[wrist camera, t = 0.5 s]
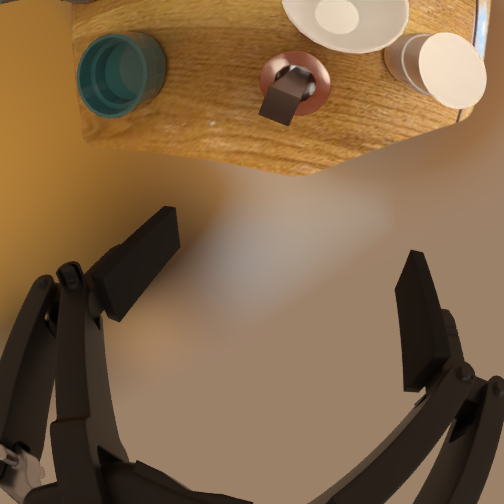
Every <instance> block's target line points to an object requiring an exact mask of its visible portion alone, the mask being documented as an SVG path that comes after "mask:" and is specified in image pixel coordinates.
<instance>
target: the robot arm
mask: <svg viewBox="0 0 504 504" xmlns="http://www.w3.org/2000/svg"><path fill="white" fill-rule="evenodd" d="M12 1H17V0H0V4H3V3H8V2H12ZM62 1H63V0H62ZM65 1H68V2H71V3H89V2H93V1H96V0H65ZM179 248H180V240H179V233H178V225H177V216H176V208H175V207H168V206H164V207H163V208H161V209H160V210H159V211H158V212H157V213H156V214H154V215H153V216H152V217H151V218H150V219H149V220H148V221H146V222H145V223H144V224H143V225H142V226H141V227H140V228H139V229H137V230H136V231H135V232H134V233H133V234H132V235H131V236H130V237H129V238H128V239H127V240H126V241H125V242H123V243H122V244H121V245H120V244H119V245H117V246H115V247H113V248H111V249H110V250H109V251H108V252H107V253H105V255H104V256H102V257H101V258H100V260H98V261H97V262H96V263H95V264H94V265H93V266H92V267H91V268H90V269H89V270H88V271H87V272H86V273H85V274H83V272H82V269H81V267H80V264H79V263H78V262H75V261H72V262H68V263H65V264H63V265H62V266H60V267H59V268H58V270H57V272H56V275H57V277H58V279H59V282H60V283H55V281H54V279H53V277H52V276H51V275H42V276H40V277H39V278H37V280H35V282H34V283H33V285H32V287H31V289H30V291H29V293H28V295H27V297H26V299H25V301H24V303H23V305H22V307H21V309H20V312H19V314H18V316H17V318H16V321H15V323H14V325H13V328H12V330H11V333H10V335H9V338H8V340H7V343H6V346H5V349H4V351H3V354H2V357H1V360H0V487H1V488H2V489H3V490H4V491H5V492H6V493H7V494H8V495H9V496H10V497H11V498H13V499H14V500H15V501H16V502H17V503H18V504H253V502H250V501H246V500H242V499H238V498H234V497H231V496H227V495H223V494H214V493H204V492H196V491H192V490H190V489H189V488H187V487H186V486H184V485H183V484H181V483H180V482H178V481H177V480H175V479H173V478H171V477H170V476H168V475H167V474H165V473H163V472H161V471H159V470H157V469H155V468H153V467H150V466H148V465H146V464H144V463H142V462H140V461H138V460H137V461H136V463H132V462H129V459H128V456H127V453H126V451H125V449H124V447H123V445H122V443H121V441H120V439H119V435H118V430H117V426H116V421H115V416H114V411H113V406H112V400H111V394H110V387H109V381H108V373H107V365H106V358H105V357H106V356H105V346H104V334H103V320H102V316H101V313H102V312H103V311H104V310H105V312H106V314H107V316H108V318H110V319H113V320H115V321H117V322H120V321H121V320H122V319H123V317H124V316H125V315H126V314H127V312H128V311H129V310H130V308H131V307H132V306H133V304H134V303H135V302H136V301H137V299H138V298H139V297H140V296H141V294H142V293H143V292H144V291H145V289H146V288H147V287H148V285H149V284H150V283H151V282H152V281H153V279H154V278H155V277H156V276H157V274H158V273H159V272H160V271H161V270H162V268H163V267H164V266H165V265H166V263H167V262H168V261H169V260H170V259H171V258H172V256H173V255H174V254H175V253H176V252H177V250H178V249H179ZM395 295H396V301H397V309H398V317H399V326H400V336H401V347H402V362H403V384H404V391H405V392H419V391H420V390H421V389H422V388H423V387H424V386H425V387H426V394H425V395H424V396H423V397H422V398H421V399H420V400H418V402H416V403H415V406H414V408H413V409H412V410H411V412H409V414H408V415H407V416H406V417H405V418H404V419H403V421H402V422H401V423H400V424H399V425H398V426H397V427H396V428H395V429H394V430H393V431H392V433H390V434H389V436H388V437H387V438H386V439H385V440H384V441H383V442H382V443H381V444H380V445H379V446H378V447H377V448H376V449H375V450H374V451H372V452H371V453H370V454H369V455H368V456H367V457H366V458H365V459H364V460H363V461H362V462H361V463H360V464H358V465H357V466H356V467H355V468H354V469H353V470H351V471H350V472H349V473H348V474H347V475H346V476H344V477H343V478H342V479H341V480H339V481H338V482H337V483H336V484H334V485H333V486H332V487H331V488H329V489H328V490H327V491H325V492H324V493H322V494H321V495H320V496H318V497H317V498H316V499H314V500H313V501H311V502H310V503H308V504H384V503H385V502H386V501H387V500H388V499H389V498H390V497H391V496H392V495H393V494H394V493H395V492H396V491H397V490H398V489H399V487H401V486H402V484H403V483H404V482H405V481H406V480H407V479H408V478H409V477H410V476H411V474H412V473H413V472H414V471H415V470H416V469H417V467H418V466H419V465H420V464H421V462H422V461H423V460H424V459H425V458H426V456H427V455H428V454H429V453H430V451H431V450H432V449H433V447H434V446H435V445H436V443H437V442H438V441H439V439H440V438H441V436H442V435H443V433H444V432H445V431H446V429H447V428H448V426H449V425H450V423H451V422H452V423H451V426H450V428H449V431H448V433H447V436H446V438H445V441H444V443H443V445H442V448H441V450H440V453H439V455H438V457H437V459H436V461H435V463H434V465H433V467H432V469H431V471H430V474H429V475H428V477H427V479H426V481H425V483H424V485H423V487H422V488H421V490H420V492H419V494H418V495H417V497H416V499H415V501H414V502H413V504H477V502H478V500H479V498H480V495H481V493H482V490H483V488H484V485H485V483H486V480H487V477H488V475H489V472H490V469H491V466H492V463H493V460H494V457H495V453H496V450H497V446H498V442H499V439H500V434H501V431H502V426H503V422H504V379H503V378H501V377H500V376H493V377H492V378H491V379H490V380H489V381H486V380H483V379H481V378H479V377H476V376H475V372H474V370H473V368H472V367H471V365H470V364H468V363H467V362H465V361H464V357H463V352H462V348H461V343H460V340H459V336H458V331H457V329H456V324H455V320H454V318H453V316H452V315H451V313H450V311H449V310H446V309H441V307H440V304H439V300H438V296H437V293H436V290H435V287H434V283H433V280H432V277H431V274H430V271H429V268H428V265H427V262H426V259H425V256H424V253H423V252H419V251H414V250H411V251H410V253H409V256H408V258H407V261H406V263H405V266H404V268H403V271H402V273H401V276H400V278H399V281H398V283H397V285H396V287H395ZM46 314H47V316H48V317H47V319H46V320H45V315H46ZM54 380H55V388H56V409H57V410H56V411H57V419H56V421H54V422H52V423H51V425H50V437H51V446H52V454H53V461H54V467H55V473H56V478H57V482H54V483H50V484H47V485H43V486H42V485H41V482H40V479H42V478H44V476H45V470H44V468H43V467H42V466H40V463H39V462H40V459H41V455H42V451H43V447H44V440H45V433H46V426H47V418H48V412H49V406H50V400H51V394H52V389H53V385H54Z"/></svg>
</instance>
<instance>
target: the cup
mask: <svg viewBox="0 0 504 504" xmlns="http://www.w3.org/2000/svg"><path fill="white" fill-rule="evenodd" d="M281 1H282V6H283V8H284V10H285V12H286V14H287V16H288V18H289V20H290V21H291V22H292V23H293V24H294V25H295V27H296V28H297V29H298V30H299V31H300V32H301V33H302V34H304V35H305V36H307V37H308V38H309V39H311V40H312V41H313V42H315V43H318V44H320V45H322V46H324V47H326V48H328V49H332V50H336V51H340V52H344V53H358V54H364V53H369V52H374V51H379V50H381V49H383V48H385V47H387V46H389V45H391V44H392V43H393V42H395V41H396V40H397V39H398V38H399V37H400V36H401V35H402V33H403V31H404V29H405V28H406V26H407V24H408V18H409V12H410V10H409V4H408V0H281Z"/></svg>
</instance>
